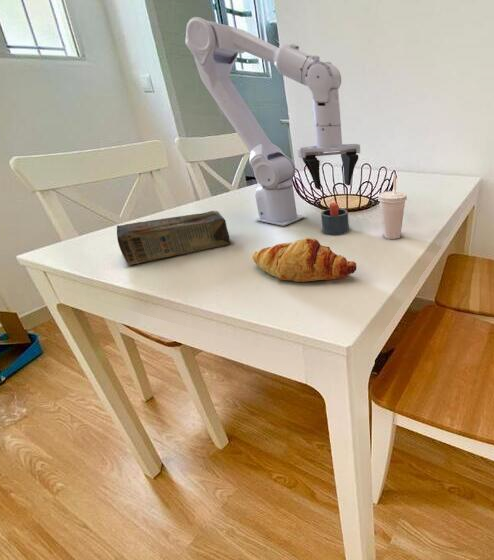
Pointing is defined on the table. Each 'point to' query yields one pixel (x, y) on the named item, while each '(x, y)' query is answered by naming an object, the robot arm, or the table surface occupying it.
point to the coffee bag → (171, 236)
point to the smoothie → (392, 211)
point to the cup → (335, 222)
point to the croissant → (303, 261)
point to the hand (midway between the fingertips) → (333, 186)
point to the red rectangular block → (334, 209)
